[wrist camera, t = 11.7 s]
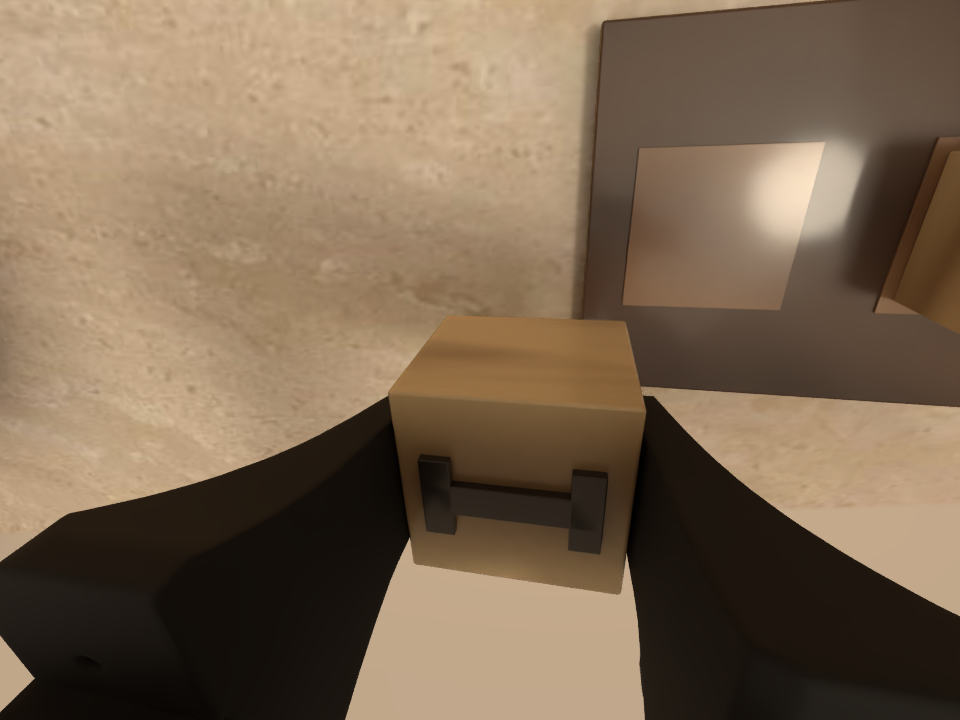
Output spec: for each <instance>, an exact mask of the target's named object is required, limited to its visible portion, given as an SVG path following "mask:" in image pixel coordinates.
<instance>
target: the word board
mask: <svg viewBox="0 0 960 720" xmlns="http://www.w3.org/2000/svg"><path fill="white" fill-rule="evenodd" d="M952 151H960V0H826V1H815V2H804V3H793V4H782V5H771V6H760V7H749V8H738V9H727V10H716V11H705V12H694V13H683V14H672V15H661V16H650V17H639V18H628V19H617V20H606V21H603V23H602V26H601V35H600V49H599V64H598V79H597V94H596V109H595V124H594V139H593V153H592V168H591V183H590V198H589V213H588V228H587V243H586V257H585V272H584V287H583V302H582V317H581V320H608V321H624V322H625V323H626V326H627V330H628V335H629V339H630V343H631V348H632V352H633V356H634V360H635V365H636V369H637V373H638V378H639V382H640V386H645V387H660V388H675V389H690V390H706V391H721V392H736V393H751V394H766V395H782V396H797V397H812V398H827V399H842V400H858V401H873V402H888V403H903V404H918V405H934V406H949V407H960V335H959V334H957V333H955V332H953V331H951V330H949V329H948V328H946V327H944V326H942V325H940V324H938V323H936V322H934V321H932V320H930V319H928V318H926V317H924V316H922V315H920V314H918V313H916V312H915V311H913V310H911V309H909V308H907V307H905V306H903V305H901V304H899V303H897V302H895V301H894V297H895V294H896V292H897V289H898V287H899V284H900V281H901V279H902V276H903V274H904V271H905V268H906V266H907V263H908V261H909V258H910V255H911V253H912V250H913V247H914V245H915V242H916V240H917V237H918V234H919V232H920V229H921V227H922V224H923V221H924V219H925V216H926V214H927V211H928V208H929V206H930V203H931V200H932V198H933V195H934V193H935V190H936V187H937V185H938V182H939V180H940V177H941V174H942V172H943V169H944V167H945V164H946V161H947V159H948V156H949V154H950V152H952Z"/></svg>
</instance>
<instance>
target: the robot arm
mask: <svg viewBox="0 0 960 720" xmlns="http://www.w3.org/2000/svg"><path fill="white" fill-rule="evenodd" d="M643 399H644V403H645V408H646V417H645V424H644V431H643V438H642V446H641V453H640V460H639V467H638V474H637V481H636V489H635V496H634V503H633V510H632V517H631V524H630V532H629V539H628V546H627V557H628V563H629V569H630V574H631V580H632V585H633V591H634V597H635V604H636V611H637V618H638V628H639V642H640V655H641V668H642V682H643V697H644V712H645V720H960V616H958V615H956V614H954V613H952V612H950V611H948V610H946V609H944V608H942V607H940V606H937V605H936V604H934V603H932V602H930V601H928V600H926V599H924V598H923V597H921V596H919V595H917V594H915V593H914V592H911V591H910V590H908V589H906V588H904V587H902V586H901V585H899V584H897V583H895V582H893V581H892V580H890V579H888V578H886V577H884V576H882V575H881V574H879V573H877V572H875V571H873V570H872V569H870V568H868V567H867V566H865V565H863V564H862V563H860V562H858V561H856V560H854V559H853V558H851V557H849V556H848V555H846V554H844V553H843V552H841V551H839V550H838V549H836V548H835V547H833V546H832V545H830V544H829V543H827V542H825V541H824V540H822V539H821V538H819V537H818V536H816V535H814V534H813V533H811V532H810V531H808V530H807V529H805V528H803V527H802V526H800V525H799V524H797V523H796V522H794V521H793V520H792V519H790V518H789V517H787V516H786V515H784V514H783V513H781V512H780V511H779V510H777V509H776V508H775V507H773V506H772V505H771V504H769V503H768V502H767V501H765V500H764V499H763V498H761V497H760V496H759V495H757V494H756V493H754V492H753V491H752V490H751V489H749V488H748V487H747V486H746V485H744V484H743V483H742V482H741V481H739V480H738V479H737V478H736V477H735V476H733V475H732V474H731V473H730V472H729V471H728V470H727V469H725V468H724V467H723V466H722V465H721V464H720V463H718V462H717V461H716V460H715V459H714V458H713V457H712V456H711V455H710V454H709V453H708V452H706V451H705V450H704V449H703V448H702V447H701V446H700V445H699V444H698V443H697V442H696V441H695V440H694V439H693V438H692V437H691V436H690V435H689V434H688V433H687V432H686V431H685V430H684V429H683V428H682V427H681V426H680V424H679V423H678V422H677V421H676V420H675V419H674V418H673V417H672V416H671V415H670V414H669V413H668V411H667V410H666V409H665V408H664V407H663V406H662V405H661V404H660V403H659V402H658V401H657V399H656V398H655V397H654V396H643ZM409 538H410V534H409V527H408V521H407V514H406V508H405V501H404V494H403V488H402V481H401V475H400V468H399V462H398V455H397V448H396V442H395V435H394V429H393V422H392V416H391V409H390V402H389V396H387V397H385V398H383V399H382V400H380V401H379V402H377V403H375V404H373V405H372V406H370V407H368V408H367V409H365V410H363V411H362V412H360V413H358V414H357V415H355V416H353V417H351V418H350V419H348V420H346V421H344V422H342V423H340V424H338V425H337V426H335V427H333V428H331V429H329V430H327V431H326V432H324V433H322V434H320V435H318V436H316V437H314V438H312V439H310V440H308V441H306V442H304V443H302V444H299V445H297V446H295V447H293V448H290V449H288V450H286V451H284V452H281V453H279V454H277V455H274V456H272V457H269V458H267V459H264V460H262V461H259V462H256V463H253V464H251V465H248V466H245V467H242V468H239V469H237V470H234V471H231V472H228V473H226V474H223V475H220V476H217V477H214V478H211V479H207V480H204V481H201V482H198V483H194V484H191V485H188V486H184V487H180V488H177V489H173V490H170V491H166V492H162V493H158V494H155V495H151V496H147V497H143V498H138V499H134V500H129V501H125V502H120V503H116V504H111V505H107V506H102V507H98V508H93V509H89V510H84V511H79V512H74V513H69V514H67V515H66V516H64V517H62V518H61V519H59V520H58V521H56V522H55V523H53V524H52V525H51V526H49V527H48V528H47V529H45V530H44V531H42V532H41V533H40V534H38V535H37V536H35V537H34V538H33V539H31V540H30V541H29V542H27V543H26V544H24V545H23V546H22V547H20V548H19V549H18V550H16V551H15V552H13V553H12V554H11V555H9V556H8V557H6V558H5V559H4V560H2V561H1V562H0V636H1V637H2V638H3V640H4V641H5V642H6V643H7V645H8V646H9V647H10V648H11V649H12V651H13V652H14V653H15V654H16V656H17V657H18V658H19V659H20V661H21V662H22V663H23V664H24V666H25V667H26V668H27V669H28V671H29V672H30V673H31V674H32V676H33V677H34V678H35V679H34V680H33V681H32V682H31V683H30V684H29V685H28V686H27V687H26V688H25V689H24V690H23V691H21V692H20V693H19V695H17V696H16V697H15V698H14V699H13V700H12V701H11V702H10V703H9V704H8V705H7V706H6V707H5V708H4V709H3V710H2V711H1V712H0V720H345V718H346V715H347V712H348V708H349V705H350V701H351V698H352V695H353V692H354V688H355V685H356V682H357V678H358V675H359V671H360V669H361V666H362V663H363V659H364V656H365V653H366V650H367V647H368V644H369V641H370V638H371V635H372V632H373V629H374V626H375V623H376V620H377V617H378V614H379V611H380V608H381V605H382V603H383V600H384V597H385V594H386V591H387V588H388V585H389V583H390V580H391V578H392V575H393V573H394V571H395V568H396V566H397V563H398V561H399V559H400V557H401V555H402V552H403V550H404V548H405V546H406V544H407V542H408V540H409Z"/></svg>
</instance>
